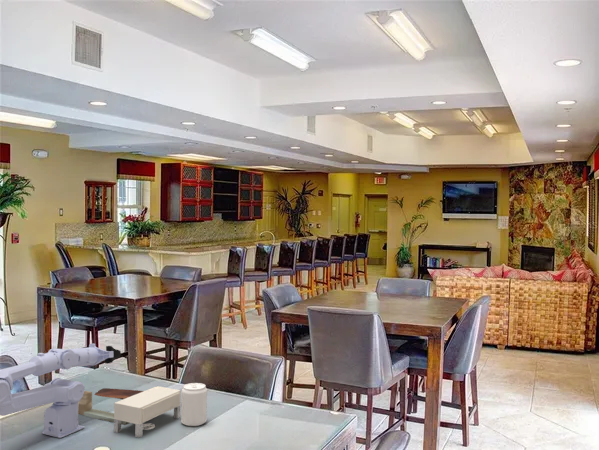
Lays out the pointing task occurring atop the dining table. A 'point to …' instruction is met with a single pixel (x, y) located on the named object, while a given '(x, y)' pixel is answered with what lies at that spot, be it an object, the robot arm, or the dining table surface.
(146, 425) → the steel token
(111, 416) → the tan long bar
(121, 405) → the cream toy bench
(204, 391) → the beverage can
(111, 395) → the wooden tablet
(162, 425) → the dining table surface
